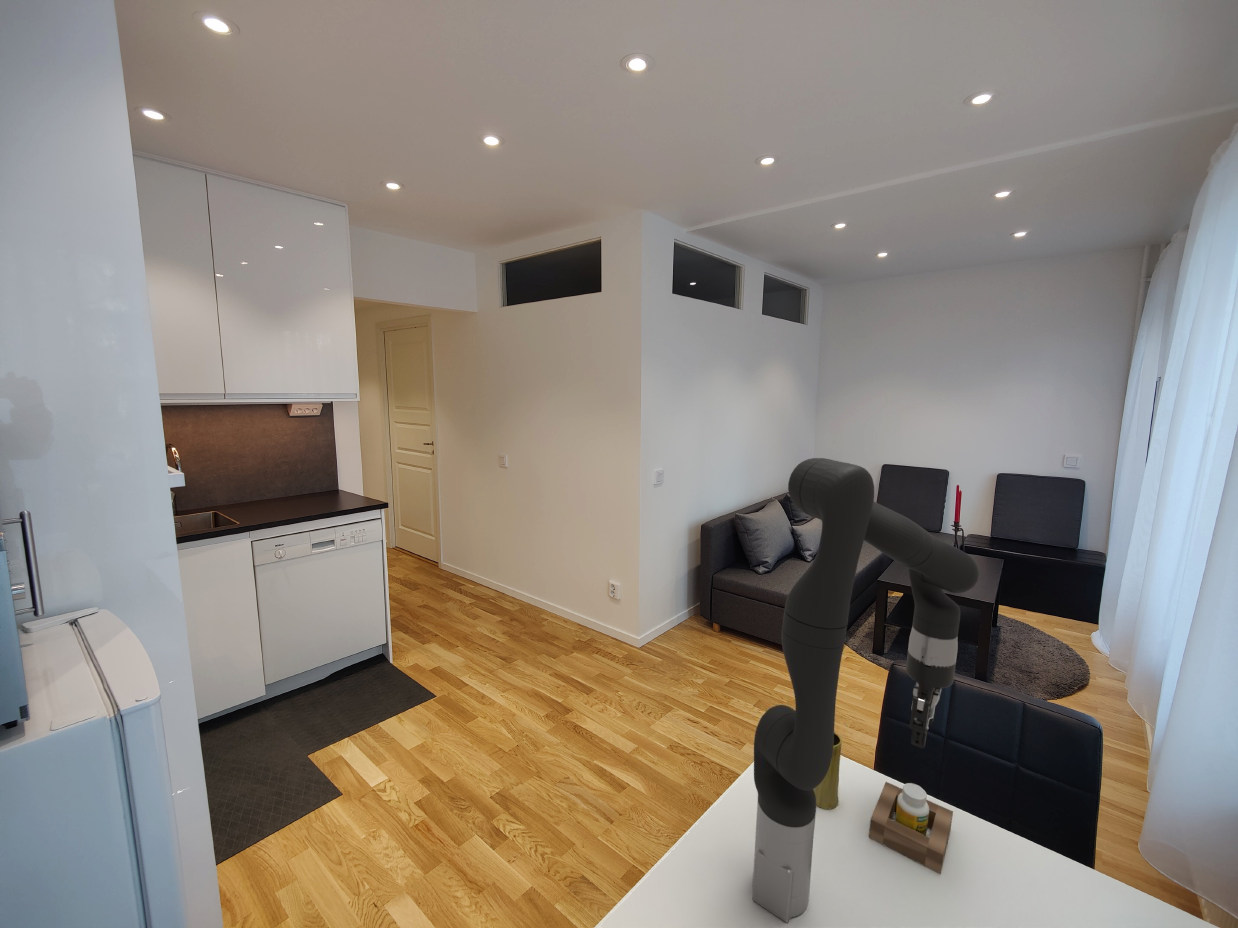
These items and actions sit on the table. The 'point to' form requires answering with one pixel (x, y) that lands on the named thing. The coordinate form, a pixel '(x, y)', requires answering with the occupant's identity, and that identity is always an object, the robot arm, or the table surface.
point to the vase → (830, 780)
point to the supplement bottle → (913, 808)
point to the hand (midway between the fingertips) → (922, 733)
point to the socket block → (911, 830)
